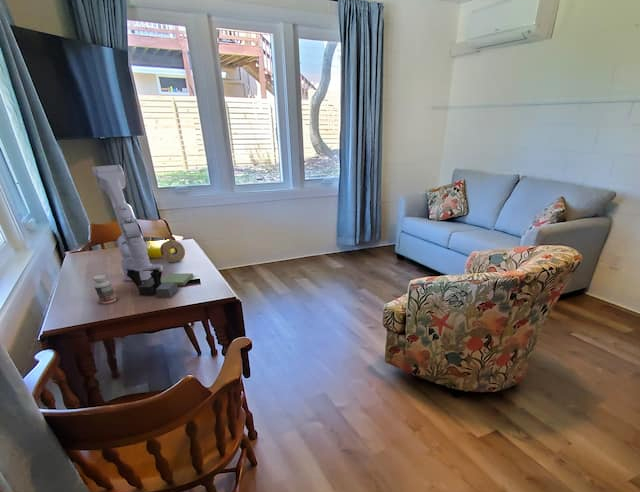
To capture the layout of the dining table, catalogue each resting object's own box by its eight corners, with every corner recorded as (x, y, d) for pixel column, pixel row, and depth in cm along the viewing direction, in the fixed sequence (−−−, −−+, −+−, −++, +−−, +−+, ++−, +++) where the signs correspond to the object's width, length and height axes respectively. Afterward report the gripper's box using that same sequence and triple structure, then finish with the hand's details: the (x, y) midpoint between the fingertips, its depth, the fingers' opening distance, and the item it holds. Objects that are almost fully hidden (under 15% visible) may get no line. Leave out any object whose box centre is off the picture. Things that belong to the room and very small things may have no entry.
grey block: (157, 297, 153) (155, 289, 151) (166, 289, 159) (163, 281, 157) (170, 297, 153) (168, 289, 151) (178, 289, 159) (176, 281, 157)
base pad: (160, 285, 163) (159, 282, 162) (170, 276, 172) (169, 273, 171) (184, 285, 163) (183, 282, 162) (193, 276, 171) (192, 273, 171)
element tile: (171, 256, 194) (168, 247, 191) (138, 259, 191) (135, 249, 188) (176, 247, 206) (174, 238, 203) (145, 250, 203) (143, 240, 201)
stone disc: (164, 264, 184) (158, 243, 179) (163, 262, 187) (157, 241, 182) (187, 260, 189) (182, 239, 183) (186, 258, 191) (181, 237, 186)
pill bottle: (98, 301, 151) (88, 277, 145) (113, 296, 154) (104, 272, 149) (104, 305, 148) (94, 280, 142) (119, 300, 151) (110, 276, 146)
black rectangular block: (140, 295, 155) (137, 287, 153) (149, 287, 161) (146, 280, 159) (152, 295, 155) (150, 287, 153) (161, 287, 161) (158, 280, 159)
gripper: (114, 258, 147) (126, 292, 154) (152, 258, 146) (163, 292, 154) (124, 252, 153) (135, 285, 160) (161, 252, 152) (171, 285, 160)
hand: (149, 288), depth 157 cm, fingers open, 7 cm apart
